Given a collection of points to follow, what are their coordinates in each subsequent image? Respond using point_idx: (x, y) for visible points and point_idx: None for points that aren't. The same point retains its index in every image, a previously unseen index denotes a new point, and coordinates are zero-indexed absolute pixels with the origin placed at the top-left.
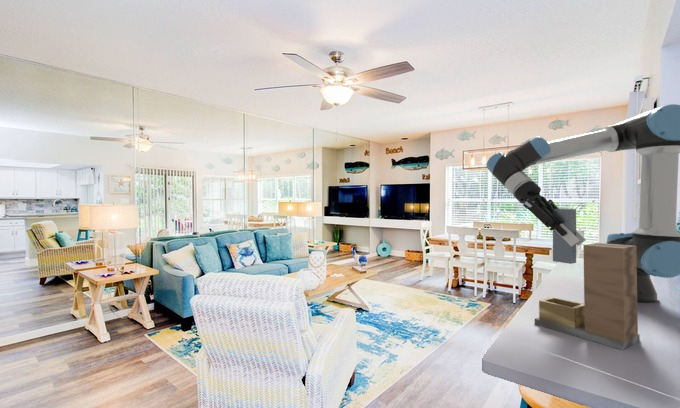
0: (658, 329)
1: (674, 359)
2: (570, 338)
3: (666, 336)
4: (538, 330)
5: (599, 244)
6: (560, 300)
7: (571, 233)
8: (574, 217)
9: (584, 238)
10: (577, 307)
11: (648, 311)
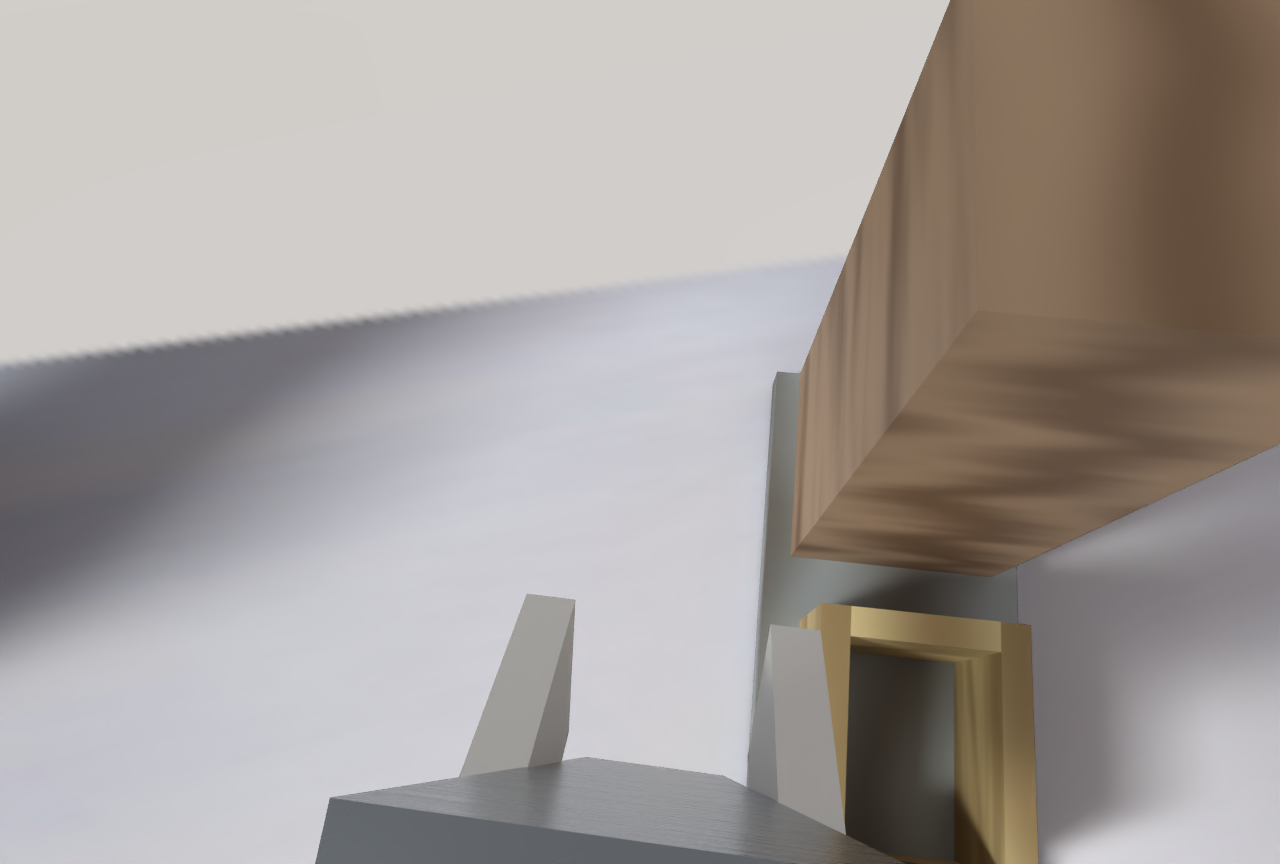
0: (465, 364)
1: None
2: (1052, 639)
3: (570, 319)
4: (1095, 834)
5: (1193, 237)
6: (843, 802)
7: (828, 765)
8: (576, 795)
9: (547, 614)
10: (972, 623)
11: (65, 472)
